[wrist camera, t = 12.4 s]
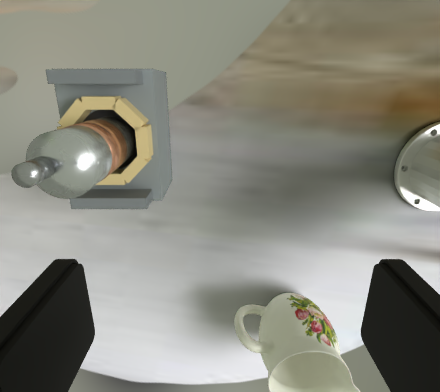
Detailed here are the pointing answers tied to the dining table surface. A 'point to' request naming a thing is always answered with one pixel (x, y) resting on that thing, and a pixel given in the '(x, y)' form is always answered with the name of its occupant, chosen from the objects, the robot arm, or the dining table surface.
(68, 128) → the cocktail shaker
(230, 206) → the dining table surface
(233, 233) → the dining table surface
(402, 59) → the dining table surface
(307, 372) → the pitcher
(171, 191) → the dining table surface
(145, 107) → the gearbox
